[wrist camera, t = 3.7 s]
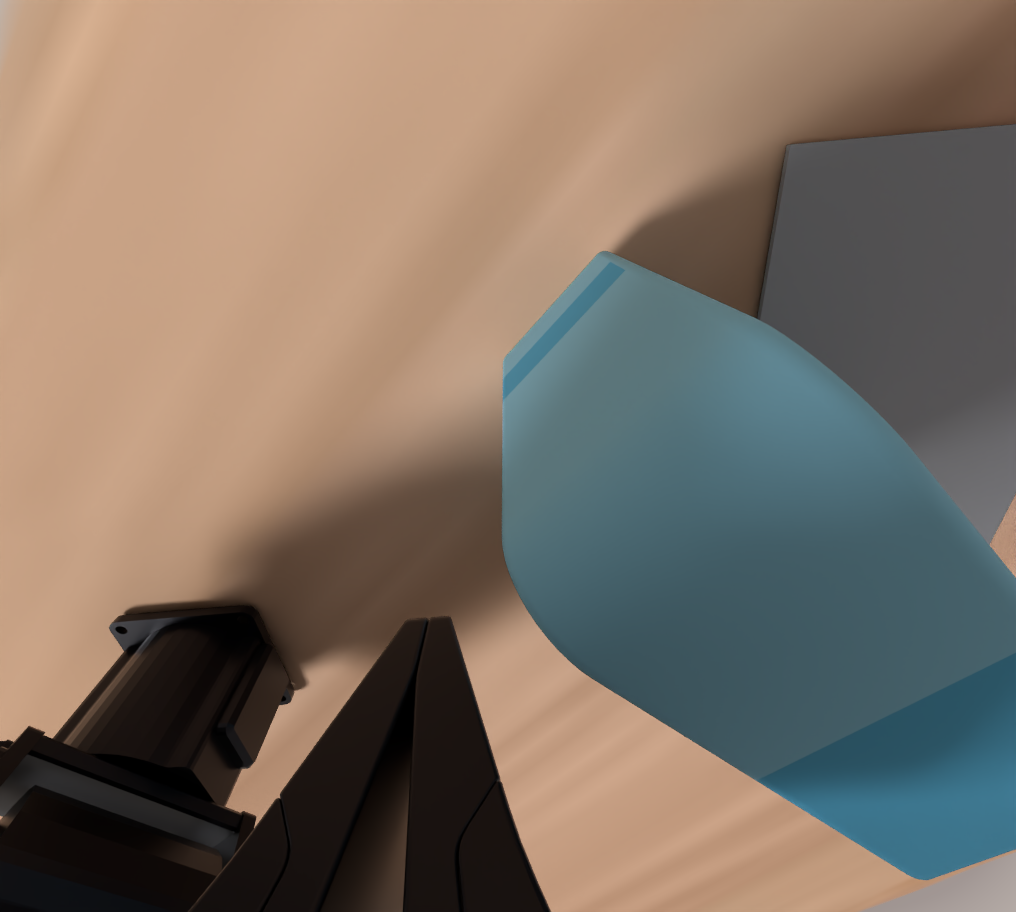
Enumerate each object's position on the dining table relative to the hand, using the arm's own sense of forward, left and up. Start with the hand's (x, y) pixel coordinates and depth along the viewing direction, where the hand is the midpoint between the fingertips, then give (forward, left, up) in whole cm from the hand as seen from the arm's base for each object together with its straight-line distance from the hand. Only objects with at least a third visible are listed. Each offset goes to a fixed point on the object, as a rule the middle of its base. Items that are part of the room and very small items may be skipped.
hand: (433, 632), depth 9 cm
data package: (+7, 0, -10) cm, 12 cm away
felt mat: (+16, 0, -10) cm, 19 cm away
